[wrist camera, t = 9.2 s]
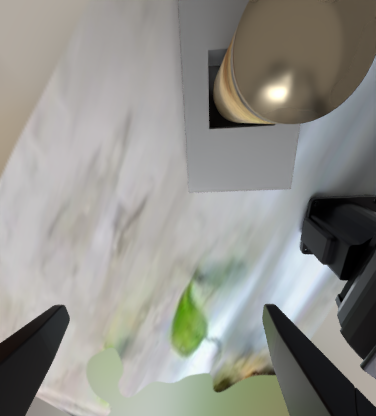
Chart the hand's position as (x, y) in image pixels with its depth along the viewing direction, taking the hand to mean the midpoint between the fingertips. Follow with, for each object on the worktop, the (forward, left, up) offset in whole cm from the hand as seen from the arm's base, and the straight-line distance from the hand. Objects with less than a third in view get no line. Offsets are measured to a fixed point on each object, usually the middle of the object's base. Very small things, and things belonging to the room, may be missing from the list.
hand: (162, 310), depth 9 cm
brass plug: (-5, -10, -9) cm, 14 cm away
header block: (-5, -10, -13) cm, 17 cm away
